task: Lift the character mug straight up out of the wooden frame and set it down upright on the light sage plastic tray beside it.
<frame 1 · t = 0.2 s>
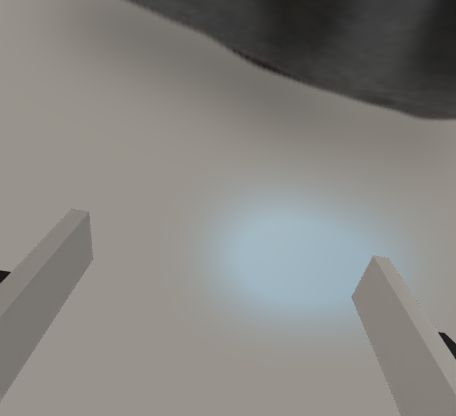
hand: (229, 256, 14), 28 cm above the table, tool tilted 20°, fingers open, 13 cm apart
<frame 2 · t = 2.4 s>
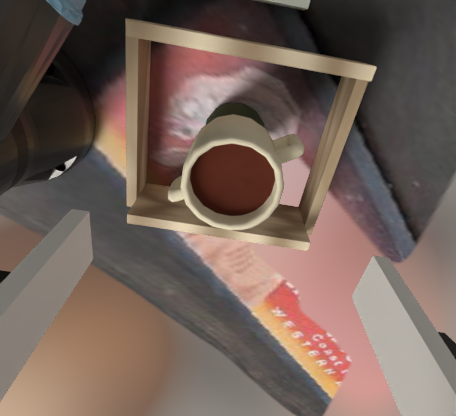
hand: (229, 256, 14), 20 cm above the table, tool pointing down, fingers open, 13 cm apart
character mug: (234, 132, 32), resting in wooden frame
wooden frame: (234, 132, 32), on the table
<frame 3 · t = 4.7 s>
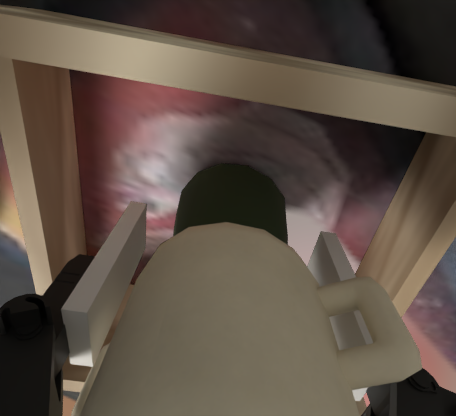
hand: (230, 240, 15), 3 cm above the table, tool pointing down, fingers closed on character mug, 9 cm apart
character mug: (232, 206, 18), resting in wooden frame, touching gripper
wooden frame: (232, 208, 18), on the table
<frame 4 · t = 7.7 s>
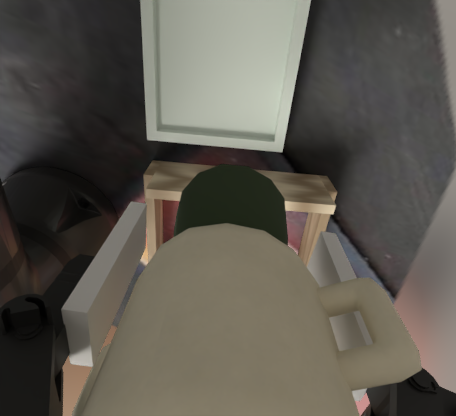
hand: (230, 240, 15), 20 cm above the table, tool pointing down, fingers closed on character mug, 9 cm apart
character mug: (232, 207, 18), point 16 cm above the table, touching gripper
wooden frame: (233, 229, 39), on the table
tray: (222, 52, 29), on the table
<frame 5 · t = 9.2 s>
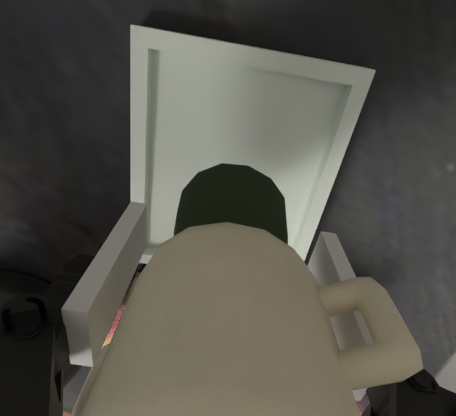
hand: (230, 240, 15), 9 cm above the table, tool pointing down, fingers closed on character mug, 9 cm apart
character mug: (232, 206, 18), point 5 cm above the table, touching gripper
tray: (231, 172, 23), on the table
when the fingers open (6 cm above the table, at t = 10.6 s): character mug drops 2 cm, resting on tray.
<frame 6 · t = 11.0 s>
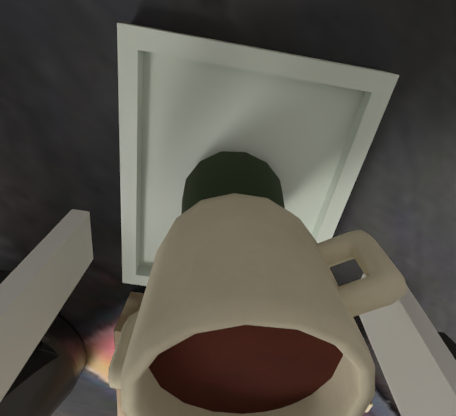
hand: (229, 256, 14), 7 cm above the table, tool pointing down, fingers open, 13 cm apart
character mug: (232, 192, 20), point 1 cm above the table, touching tray
wooden frame: (228, 364, 31), on the table
tray: (233, 186, 21), on the table
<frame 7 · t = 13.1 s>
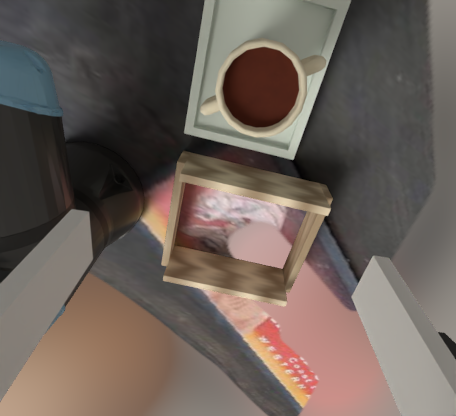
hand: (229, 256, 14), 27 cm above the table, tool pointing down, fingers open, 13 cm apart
character mug: (257, 72, 34), point 1 cm above the table, touching tray
wooden frame: (240, 219, 45), on the table
tray: (257, 72, 35), on the table
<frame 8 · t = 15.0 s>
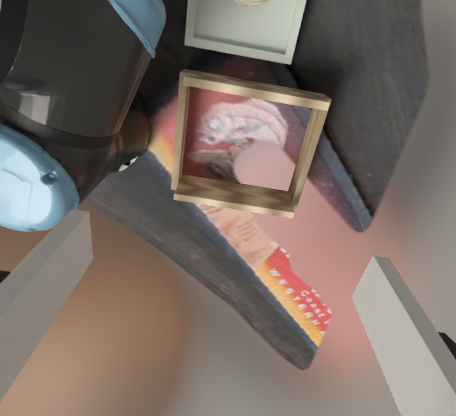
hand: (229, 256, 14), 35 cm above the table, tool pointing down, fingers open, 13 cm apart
wooden frame: (244, 139, 47), on the table
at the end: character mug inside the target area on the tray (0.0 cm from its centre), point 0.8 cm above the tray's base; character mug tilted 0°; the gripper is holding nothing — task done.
